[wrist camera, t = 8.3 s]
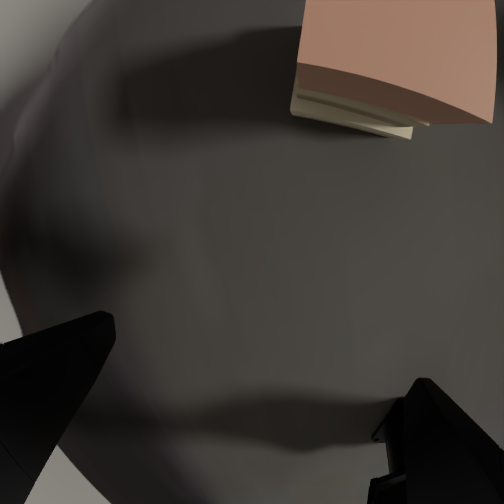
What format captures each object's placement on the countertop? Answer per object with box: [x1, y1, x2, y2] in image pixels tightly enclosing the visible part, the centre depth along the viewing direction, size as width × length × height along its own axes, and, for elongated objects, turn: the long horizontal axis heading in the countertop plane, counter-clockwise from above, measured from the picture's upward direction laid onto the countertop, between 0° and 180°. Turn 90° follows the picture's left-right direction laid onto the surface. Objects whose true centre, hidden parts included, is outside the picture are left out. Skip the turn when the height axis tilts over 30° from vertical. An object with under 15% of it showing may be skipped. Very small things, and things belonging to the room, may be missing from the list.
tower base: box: [290, 69, 413, 140], centre depth 14 cm, size 6×6×4 cm
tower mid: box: [295, 72, 430, 127], centre depth 10 cm, size 5×5×4 cm
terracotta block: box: [297, 0, 497, 124], centre depth 6 cm, size 5×5×4 cm
